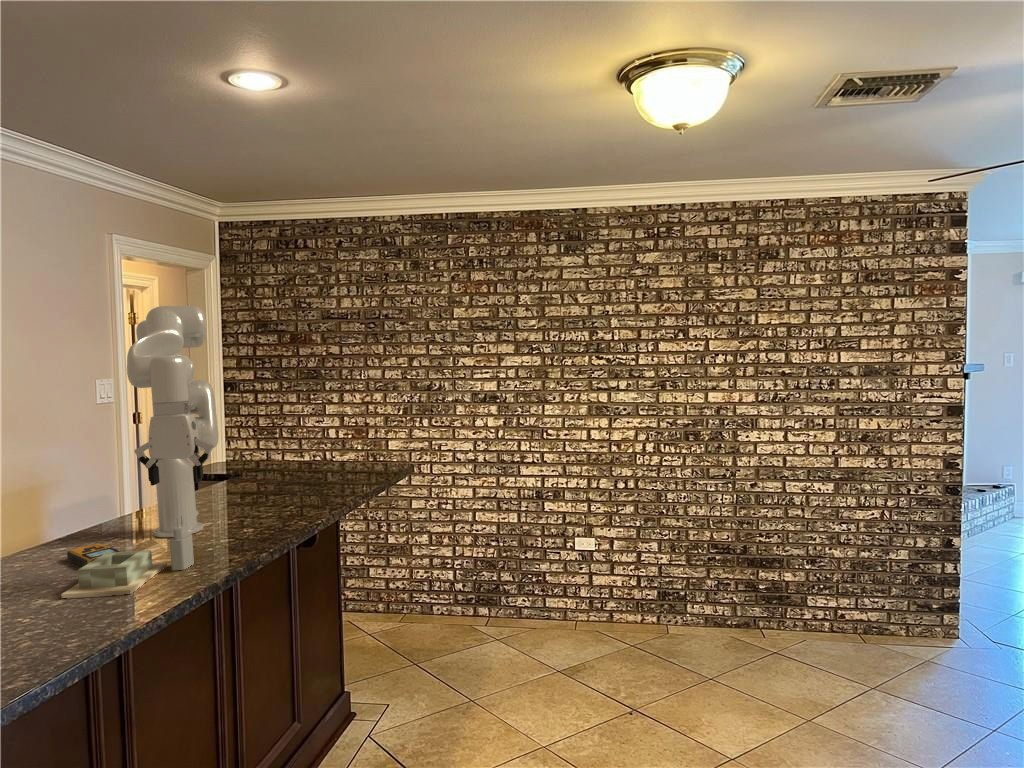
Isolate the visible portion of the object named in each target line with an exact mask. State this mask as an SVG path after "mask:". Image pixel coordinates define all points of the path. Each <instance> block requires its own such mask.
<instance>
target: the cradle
mask: <svg viewBox="0 0 1024 768" xmlns="http://www.w3.org/2000/svg"><path fill="white" fill-rule="evenodd" d="M152 554H153V553H152V550H151V549H150V550H149V549H148V550H133V551H121V552H112V553H105V554H104V555H102V556H100V557H99V558H97V559H95V560H94V561H92V562H90V563H89V564H87V565H85V566H84V567H80V568H78V569H77V577H78V579H77V581H78V583H76V584H75V585H73V586H72V587H70V588H68V589H67V590H66V591H64V592H63V593H61V594H60V595H61V599H62V598H67V599H79V598H82V599H83V598H97V597H113V596H112V595H116V596H125V595H124V594H131V595H133V594H134V593H135V592H136V591H138V590H139V589H140V588H142V587H143V586H144V585H145V584H144V583H145V582H147V581H148V580H149V579H150V578H152V577H153V576H154V575H155V574H157V573H158V572H159V571H160V570H162V569H163V568H165V567H166V566H167V567H168V562H155V563H153V558H152V557H153V556H152ZM167 567H166V568H167ZM166 568H165V569H166ZM162 571H163V570H162ZM157 575H158V574H157ZM153 578H154V577H153ZM153 578H152V579H153ZM149 581H150V580H149ZM149 581H148V582H149ZM148 582H147V583H148ZM143 584H144V585H143ZM142 585H143V586H142ZM141 586H142V587H141ZM139 587H140V588H139ZM138 588H139V589H138ZM137 589H138V590H137ZM134 591H135V592H134ZM133 592H134V593H133Z"/></svg>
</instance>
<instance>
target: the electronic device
mask: <svg viewBox="0 0 1024 768" xmlns="http://www.w3.org/2000/svg"><path fill="white" fill-rule="evenodd" d="M112 552H122V551H121V550H119V549H117V548H113V547H111V546H108V545H106V544H104V543H103V544H102V543H100V542H99V543H93V544H89V545H84V546H81V547H77V548H76V547H75V548H72V549H69V550H67V560H69V562H70V561H71V563H72V562H73V563H72V564H74V563H75V564H74V565H77V566H79V567H80V568H82V567H84V566H85V565H87V564H89V563H90V562H92V561H94V560H95V559H97V558H99V557H100V556H102V555H104V554H105V553H112Z"/></svg>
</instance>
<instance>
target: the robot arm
mask: <svg viewBox="0 0 1024 768" xmlns="http://www.w3.org/2000/svg"><path fill="white" fill-rule="evenodd" d="M207 325H208V324H207V320H206V315H205V313H204V311H203V310H202V309H201V308H200V307H199V306H196V305H161V306H156V307H154V308H152V309H150V310H149V311H148V313H147V314H146V317H145V320H142V321H140V322H139V323H137V326H136V328H135V329H136V330H135V331H136V332H135V333H136V341H135V342H134V343H132V344H131V346H130V347H129V349H128V352H127V354H126V355H127V357H126V375H127V380H128V381H129V383H130V385H131V386H133V387H135V388H138V389H146V388H147V389H149V388H151V389H150V391H151V400H152V401H151V402H152V415H153V416H150V420H149V426H148V440H147V442H146V443H144V444H142V445H140V446H139V447H137V448H136V449H134V451H133V452H134V454H135V455H136V457H137V458H138V461H139V462H140V463H141V464H142V465H144V466H145V468H146V469H147V474H148V476H147V477H148V481H149V482H150V486H155V487H156V498H157V499H156V501H157V513H158V515H157V516H158V527H157V528H155V529H153V536H154V537H157V538H174V536H173V528H175V527H177V518H178V524H179V525H181V516H182V521H183V525H184V524H186V525H187V531H188V534H192V535H193V534H195V533H199V532H200V531H202V530H203V529H204V524H203V523H202V522H199V521H198V518H197V517H198V516H199V514H200V513H199V512H200V511H199V510H197V506H196V505H197V504H196V492H195V489H196V488H195V484H198V483H200V482H202V480H203V479H204V467H203V466H204V464H205V462H206V461H207V460H208V458H210V456H211V453H212V451H213V449H214V448H216V447H217V445H218V443H219V425H218V417H217V416H218V415H217V406H216V405H217V404H216V398H215V392H214V388H213V386H212V384H211V382H208V381H207V380H205V379H204V380H201V379H198V380H193V378H194V377H195V364H194V362H193V361H192V360H191V359H190V357H189V356H187V355H185V354H179V353H180V352H181V351H182V349H190V348H191V349H193V348H199V347H201V346H203V345H204V343H205V340H206V336H207ZM195 415H197V416H195ZM147 450H148V455H149V457H150V458H149V457H148V456H146V454H145V451H147ZM201 451H203V454H202V455H200V454H201V453H200V452H201ZM188 459H189V460H190V461H191V462H190V461H189V460H188ZM192 463H193V464H194V465H192Z"/></svg>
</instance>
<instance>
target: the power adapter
mask: <svg viewBox="0 0 1024 768" xmlns="http://www.w3.org/2000/svg"><path fill="white" fill-rule="evenodd" d="M173 536H174V537H171V539H169V551H170V563H171V564H170V565H171V571H172V570H183V569H186V568H187V569H189V568H190V566H191V565H192V566H194V565H193V564H195V559H194V545H193V534H188V531H187V525H186V524H184V525H183V521H182V516H181V525H179V524H178V518H177V527H175V528H173ZM192 566H191V567H192ZM188 567H189V568H188ZM187 569H186V570H187Z"/></svg>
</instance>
